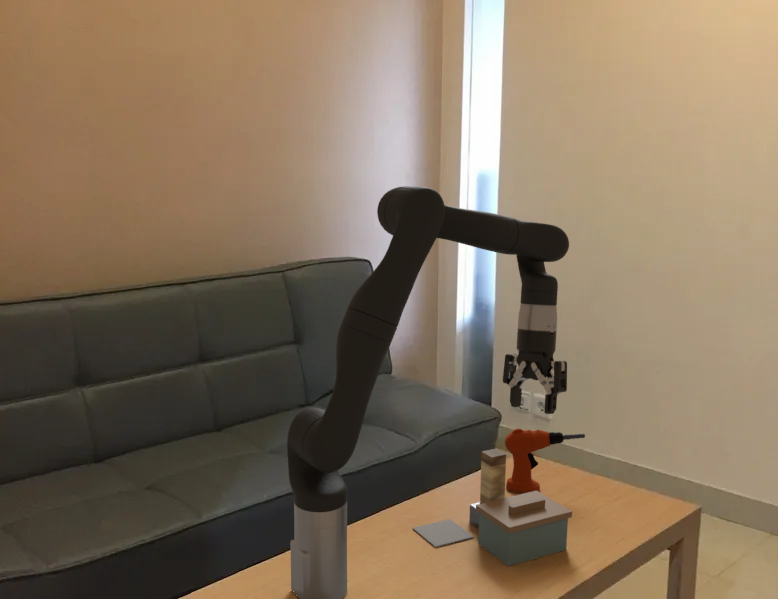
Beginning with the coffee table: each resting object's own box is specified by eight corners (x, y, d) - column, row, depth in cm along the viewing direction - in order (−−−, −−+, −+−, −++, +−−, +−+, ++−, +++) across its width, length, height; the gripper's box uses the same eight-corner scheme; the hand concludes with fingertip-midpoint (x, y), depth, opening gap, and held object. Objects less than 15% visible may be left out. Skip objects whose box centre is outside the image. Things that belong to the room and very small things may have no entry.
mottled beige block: (489, 530, 171) (491, 457, 168) (479, 523, 174) (481, 451, 171) (503, 527, 173) (506, 454, 170) (493, 520, 176) (495, 448, 173)
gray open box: (487, 535, 169) (488, 516, 168) (469, 522, 175) (469, 504, 174) (513, 528, 172) (514, 510, 171) (495, 515, 178) (495, 498, 177)
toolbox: (507, 568, 156) (509, 519, 154) (474, 543, 166) (476, 497, 164) (569, 550, 163) (572, 503, 161) (534, 527, 173) (536, 483, 171)
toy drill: (590, 489, 188) (585, 427, 185) (507, 496, 190) (501, 434, 187) (587, 481, 193) (582, 419, 190) (506, 487, 195) (500, 426, 192)
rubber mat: (435, 547, 164) (435, 546, 164) (412, 529, 171) (412, 527, 171) (473, 537, 168) (473, 536, 168) (449, 520, 176) (449, 518, 176)
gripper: (497, 324, 165) (492, 405, 166) (553, 330, 155) (548, 417, 155) (522, 325, 170) (517, 403, 171) (578, 330, 159) (573, 414, 160)
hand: (532, 410), depth 163 cm, fingers open, 8 cm apart
